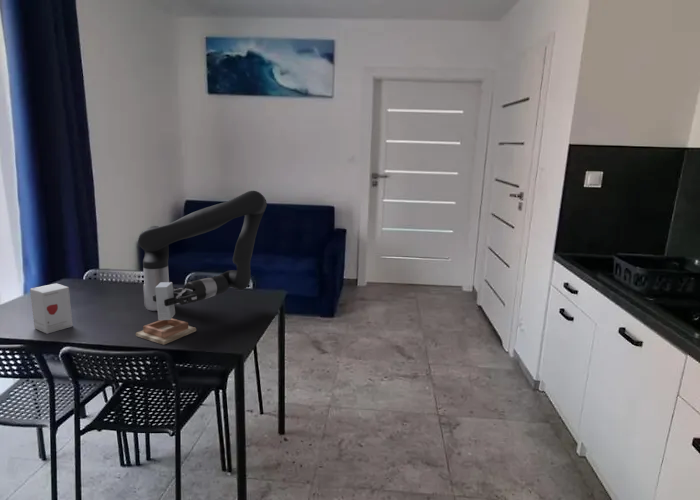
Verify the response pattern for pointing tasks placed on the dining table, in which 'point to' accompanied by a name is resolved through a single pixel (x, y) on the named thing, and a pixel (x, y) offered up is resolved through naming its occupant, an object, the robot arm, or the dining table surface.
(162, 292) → the skincare box
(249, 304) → the dining table surface
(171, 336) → the serum stand
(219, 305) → the dining table surface
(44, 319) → the supplement box
